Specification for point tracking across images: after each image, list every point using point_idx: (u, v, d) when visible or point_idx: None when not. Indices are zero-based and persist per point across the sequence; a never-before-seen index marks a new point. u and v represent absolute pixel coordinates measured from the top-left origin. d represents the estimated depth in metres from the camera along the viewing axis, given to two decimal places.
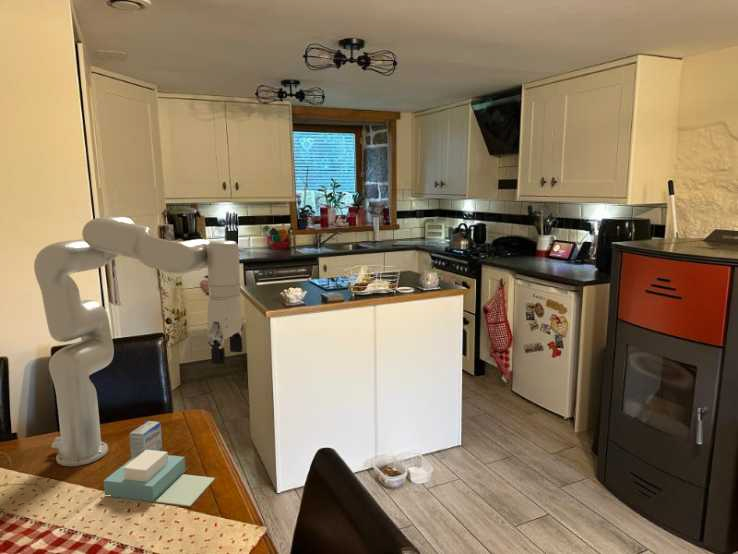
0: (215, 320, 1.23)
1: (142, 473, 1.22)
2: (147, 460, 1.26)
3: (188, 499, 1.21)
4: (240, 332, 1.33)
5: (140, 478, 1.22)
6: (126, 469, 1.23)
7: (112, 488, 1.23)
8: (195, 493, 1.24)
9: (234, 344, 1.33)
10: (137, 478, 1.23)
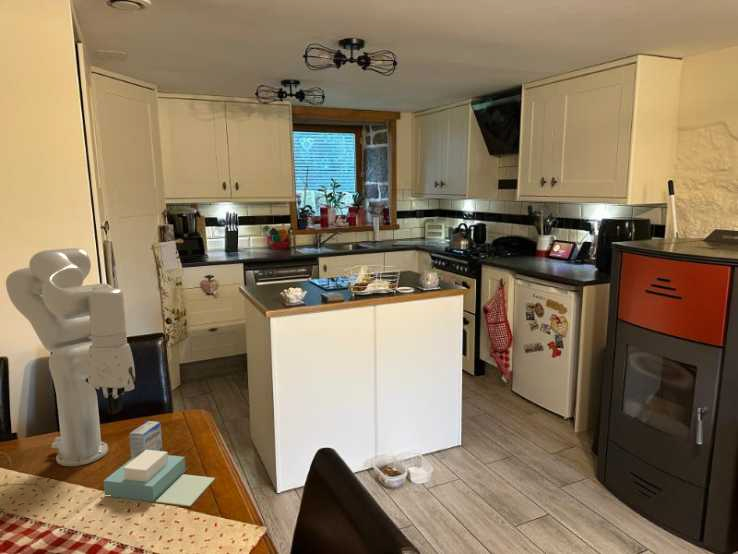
0: (129, 366, 1.23)
1: (142, 473, 1.22)
2: (147, 460, 1.26)
3: (188, 499, 1.21)
4: None
5: (140, 478, 1.22)
6: (126, 469, 1.23)
7: (112, 488, 1.23)
8: (195, 493, 1.24)
9: None
10: (137, 478, 1.23)
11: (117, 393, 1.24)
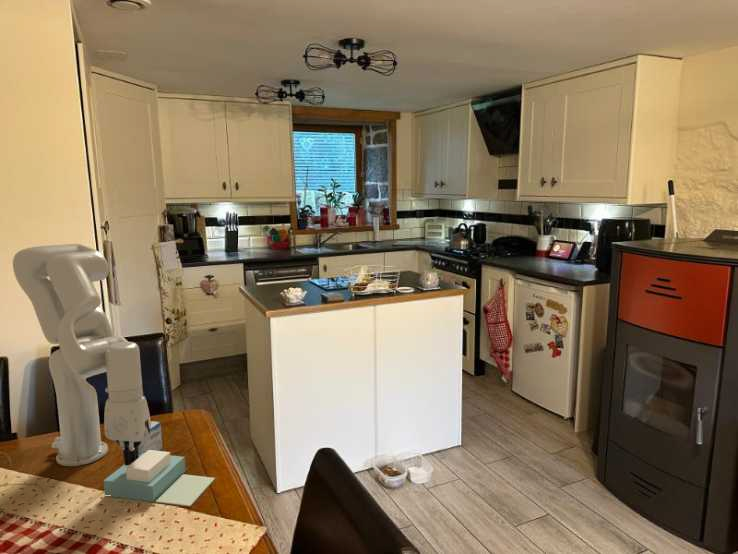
0: (145, 419, 1.24)
1: (145, 473, 1.22)
2: (150, 460, 1.26)
3: (188, 499, 1.21)
4: None
5: (142, 478, 1.22)
6: (129, 469, 1.23)
7: (112, 488, 1.23)
8: (195, 493, 1.24)
9: None
10: (139, 478, 1.22)
11: (133, 446, 1.25)
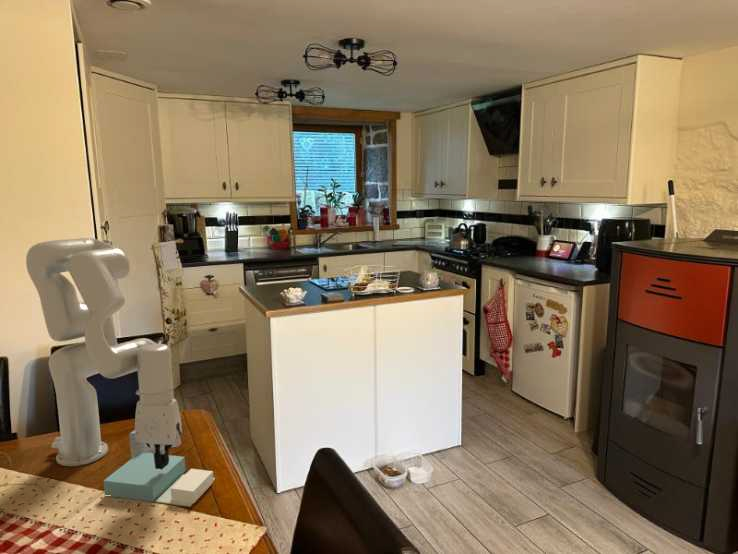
0: (177, 422, 1.23)
1: (174, 497, 1.21)
2: None
3: None
4: None
5: (176, 491, 1.21)
6: (191, 501, 1.20)
7: (112, 488, 1.23)
8: None
9: None
10: (179, 491, 1.20)
11: (164, 449, 1.24)
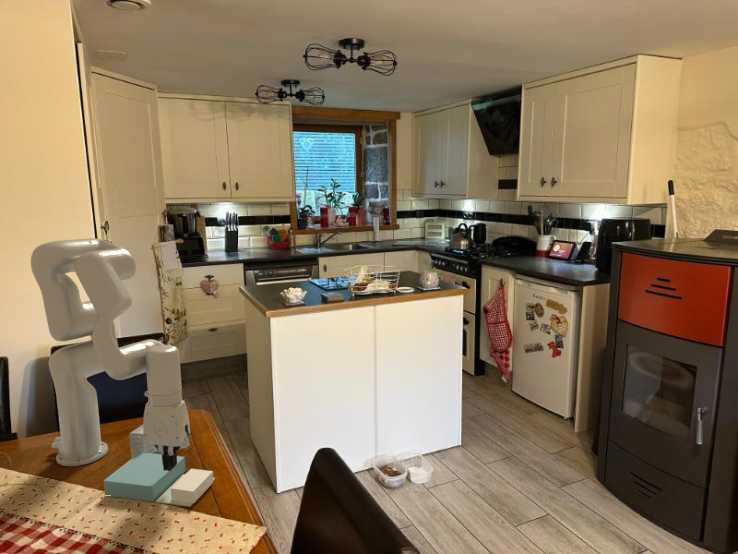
0: (185, 424, 1.23)
1: (174, 497, 1.21)
2: None
3: None
4: None
5: (176, 491, 1.21)
6: (191, 501, 1.20)
7: (112, 488, 1.23)
8: None
9: None
10: (179, 491, 1.20)
11: (172, 451, 1.23)
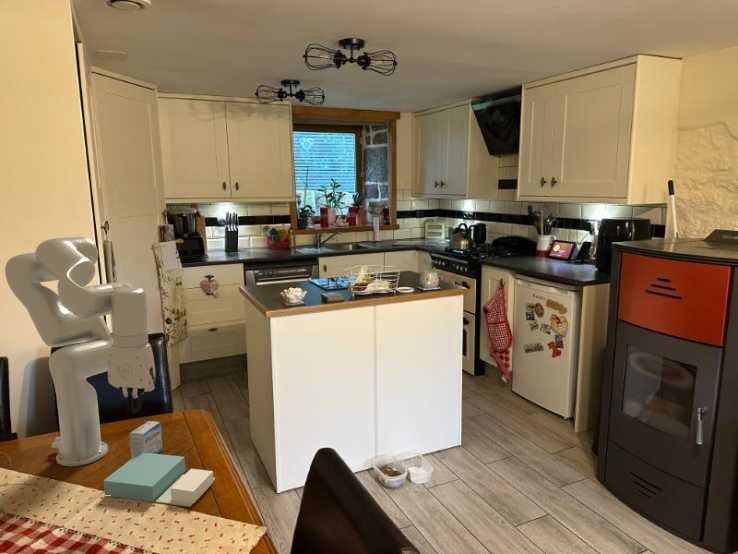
0: (150, 366, 1.22)
1: (174, 497, 1.21)
2: None
3: None
4: None
5: (176, 491, 1.21)
6: (191, 501, 1.20)
7: (112, 488, 1.23)
8: None
9: None
10: (179, 491, 1.20)
11: (137, 393, 1.23)
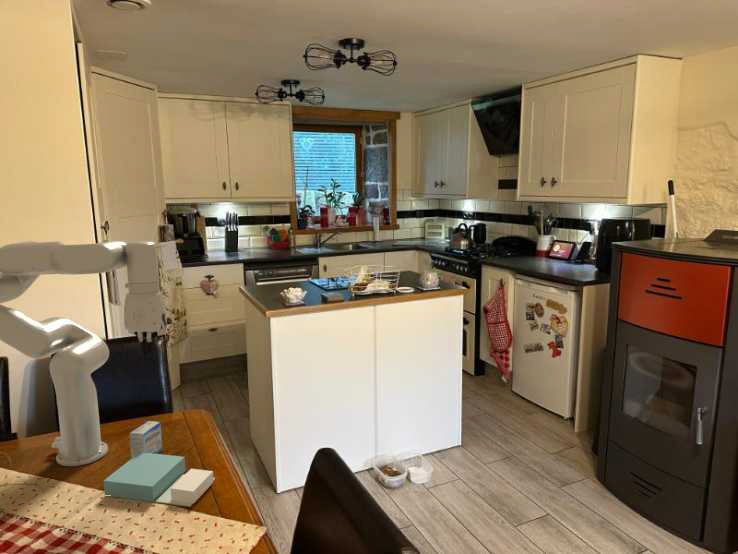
0: (162, 312, 1.35)
1: (174, 497, 1.21)
2: None
3: None
4: None
5: (176, 491, 1.21)
6: (191, 501, 1.20)
7: (112, 488, 1.23)
8: None
9: None
10: (179, 491, 1.20)
11: (151, 337, 1.36)
